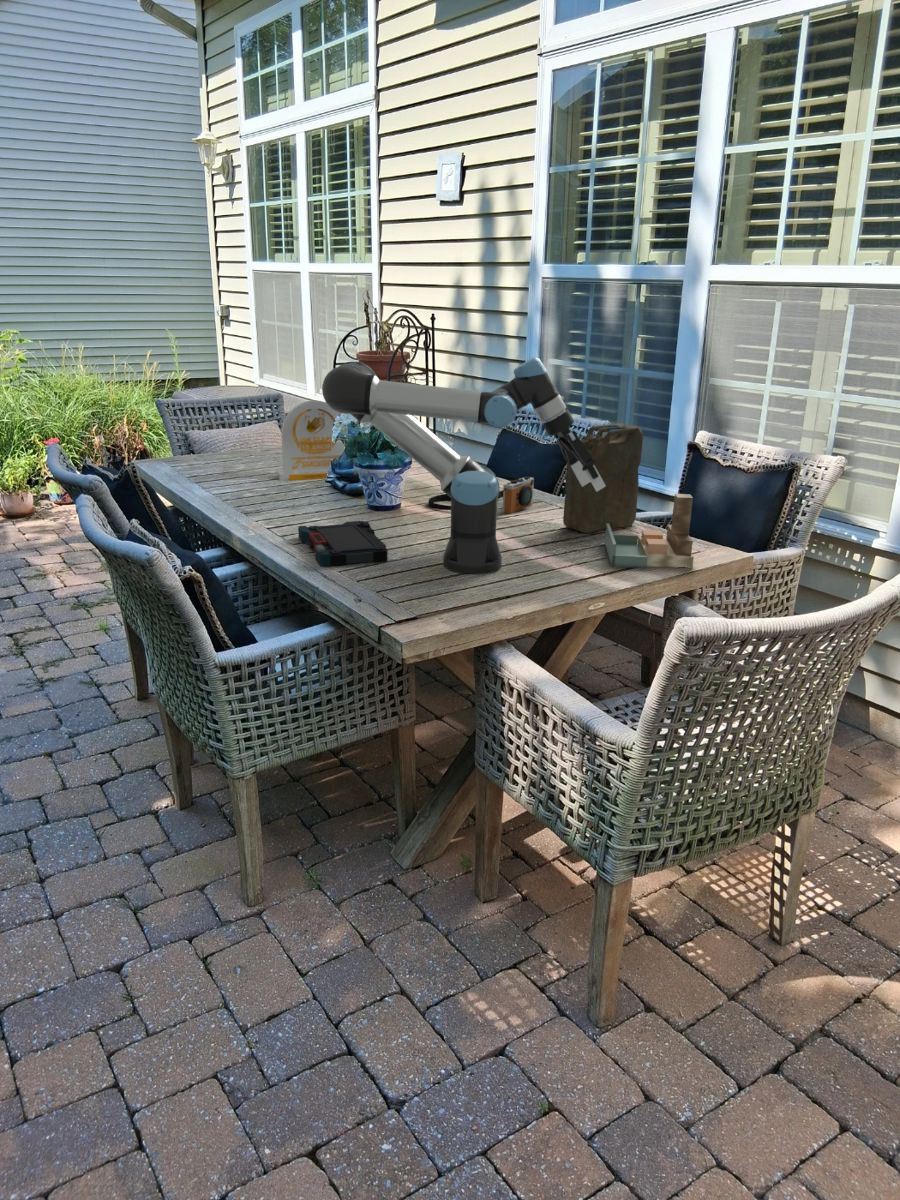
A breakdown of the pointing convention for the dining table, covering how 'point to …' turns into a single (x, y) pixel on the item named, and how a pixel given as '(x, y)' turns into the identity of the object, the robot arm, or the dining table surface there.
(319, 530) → the electronic device
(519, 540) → the dining table surface
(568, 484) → the container
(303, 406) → the award
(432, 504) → the camera
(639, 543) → the beige slotted plate
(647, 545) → the tile front
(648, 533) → the tile back
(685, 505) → the t-shaped wooden block
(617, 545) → the box
